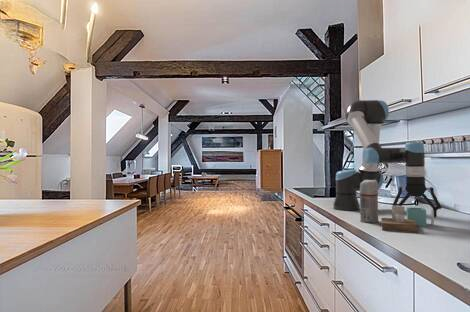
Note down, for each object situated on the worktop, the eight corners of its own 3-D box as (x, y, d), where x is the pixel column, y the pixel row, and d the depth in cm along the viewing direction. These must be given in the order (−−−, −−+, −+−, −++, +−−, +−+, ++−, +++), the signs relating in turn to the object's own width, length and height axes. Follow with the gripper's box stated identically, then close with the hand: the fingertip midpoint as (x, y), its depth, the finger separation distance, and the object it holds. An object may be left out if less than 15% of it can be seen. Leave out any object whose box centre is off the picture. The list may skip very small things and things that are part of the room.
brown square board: (381, 224, 143) (381, 203, 143) (414, 226, 138) (413, 204, 138) (382, 230, 132) (381, 207, 132) (417, 232, 126) (417, 209, 126)
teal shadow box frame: (406, 222, 148) (406, 207, 148) (424, 223, 145) (423, 207, 145) (408, 224, 141) (408, 209, 141) (426, 226, 138) (426, 210, 138)
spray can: (380, 223, 145) (380, 180, 145) (362, 223, 147) (361, 180, 147) (376, 220, 153) (375, 179, 154) (358, 219, 155) (357, 179, 155)
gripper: (386, 176, 145) (387, 223, 144) (448, 176, 135) (449, 227, 134) (385, 175, 152) (386, 220, 151) (444, 175, 142) (446, 223, 141)
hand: (416, 223), depth 143 cm, fingers open, 12 cm apart
